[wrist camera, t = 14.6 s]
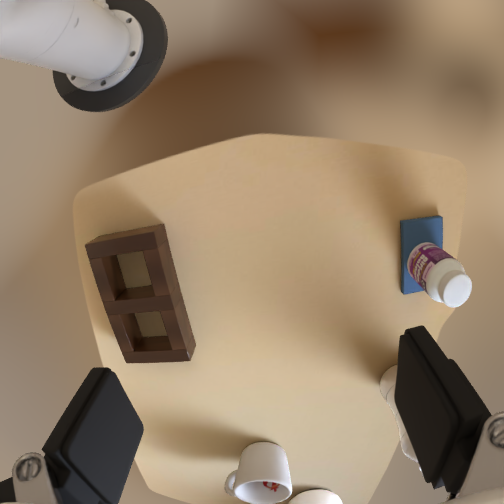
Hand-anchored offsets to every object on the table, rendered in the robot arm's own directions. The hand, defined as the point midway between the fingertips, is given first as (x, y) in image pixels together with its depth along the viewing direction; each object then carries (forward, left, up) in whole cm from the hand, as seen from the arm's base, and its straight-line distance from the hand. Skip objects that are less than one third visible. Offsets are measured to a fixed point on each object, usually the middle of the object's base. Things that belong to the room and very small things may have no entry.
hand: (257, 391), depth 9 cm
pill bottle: (+9, +20, -30) cm, 37 cm away
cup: (+45, -8, -31) cm, 55 cm away
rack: (+9, -18, -31) cm, 37 cm away
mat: (+9, +20, -31) cm, 38 cm away
